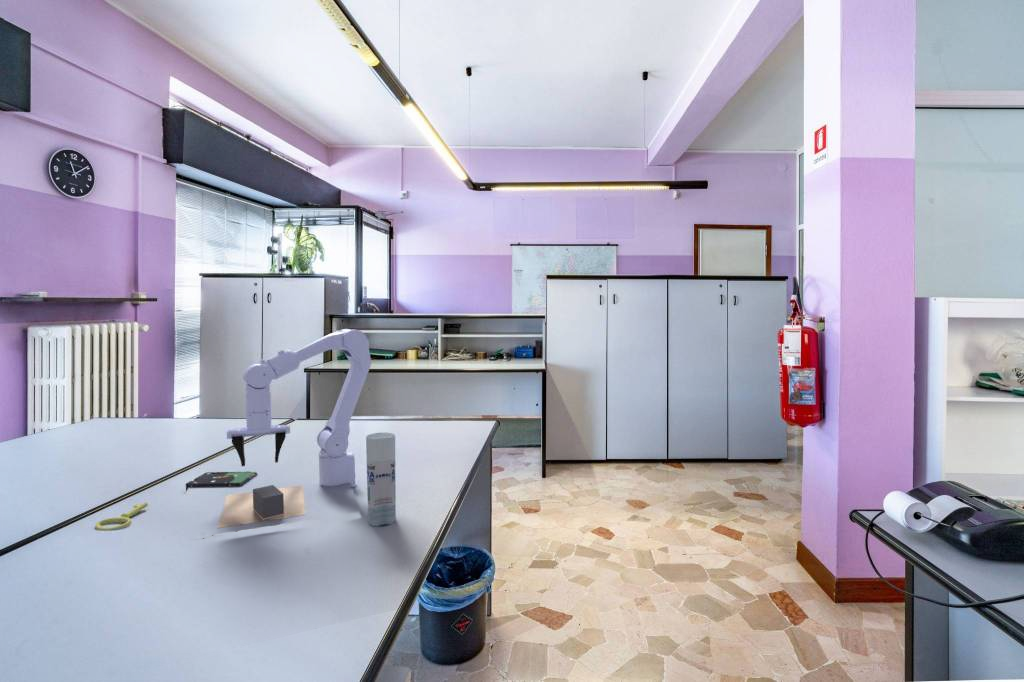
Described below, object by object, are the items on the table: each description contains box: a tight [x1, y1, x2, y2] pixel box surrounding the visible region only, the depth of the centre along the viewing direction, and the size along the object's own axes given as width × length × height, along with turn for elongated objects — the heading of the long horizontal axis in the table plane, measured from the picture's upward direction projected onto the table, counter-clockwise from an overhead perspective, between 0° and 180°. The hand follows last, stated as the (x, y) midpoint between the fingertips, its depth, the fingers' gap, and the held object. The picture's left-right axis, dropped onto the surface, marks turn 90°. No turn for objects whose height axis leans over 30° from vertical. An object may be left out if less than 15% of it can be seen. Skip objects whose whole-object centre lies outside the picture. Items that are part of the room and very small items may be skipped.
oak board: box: [217, 485, 307, 529], centre depth 125 cm, size 18×22×1 cm
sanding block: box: [252, 484, 284, 520], centre depth 120 cm, size 4×8×5 cm, turn 41°
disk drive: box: [185, 471, 258, 492], centre depth 143 cm, size 10×3×15 cm
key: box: [94, 501, 148, 531], centre depth 119 cm, size 7×12×2 cm, turn 16°
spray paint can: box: [365, 432, 397, 527], centre depth 118 cm, size 6×6×20 cm
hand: (260, 463), depth 132 cm, fingers open, 7 cm apart
